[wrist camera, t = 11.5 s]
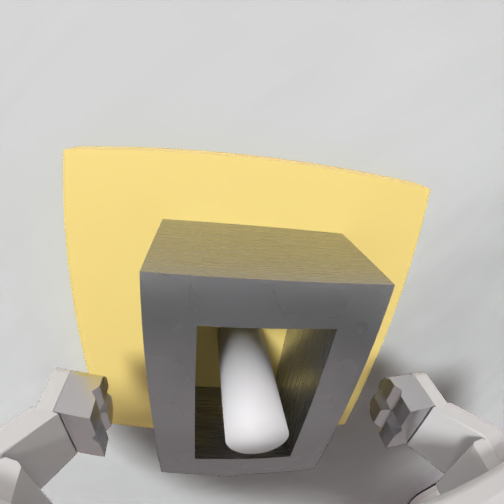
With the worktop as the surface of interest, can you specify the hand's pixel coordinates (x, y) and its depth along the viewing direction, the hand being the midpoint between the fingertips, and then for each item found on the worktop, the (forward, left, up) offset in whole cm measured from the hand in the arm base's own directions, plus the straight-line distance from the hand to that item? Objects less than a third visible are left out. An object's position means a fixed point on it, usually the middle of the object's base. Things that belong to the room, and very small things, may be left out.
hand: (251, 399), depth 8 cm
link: (-2, 0, -3) cm, 4 cm away
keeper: (0, 0, -4) cm, 4 cm away
